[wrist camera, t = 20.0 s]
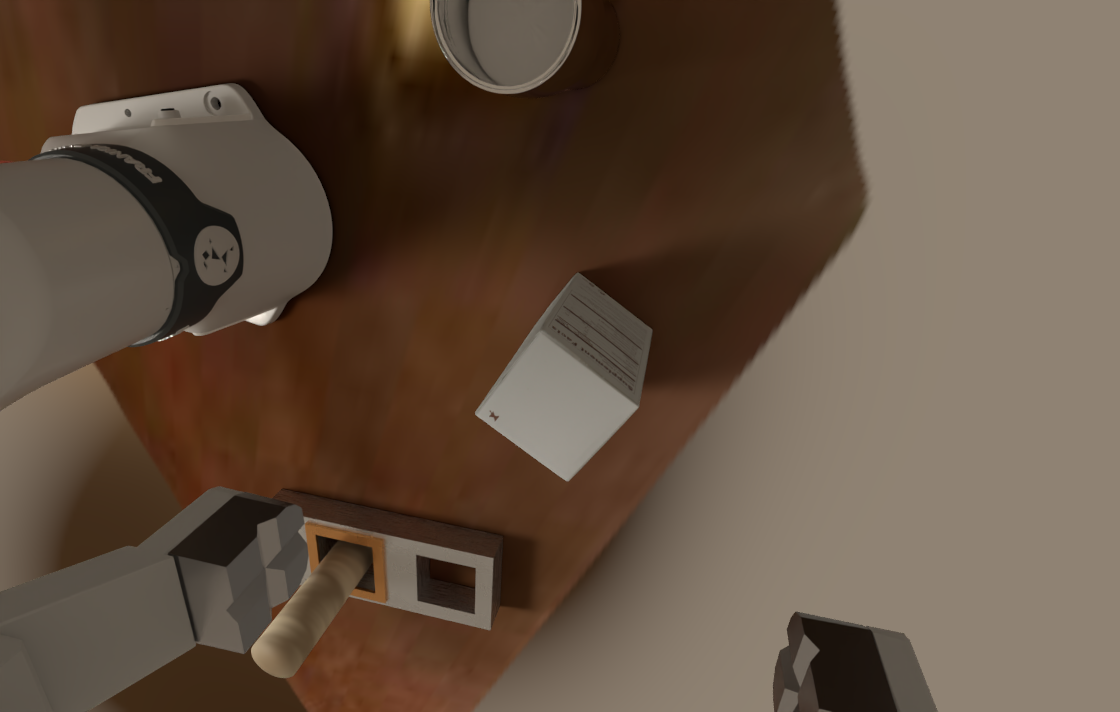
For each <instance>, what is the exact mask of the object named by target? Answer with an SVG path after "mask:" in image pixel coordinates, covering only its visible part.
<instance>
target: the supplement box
mask: <svg viewBox="0 0 1120 712" xmlns="http://www.w3.org/2000/svg"><path fill="white" fill-rule="evenodd" d="M652 331H653V330H652V329H651V328H650V327H648V326H647V325H646V324H644V323H643V322H642V321H641V320H639V319H638V318H637V317H635V316H634V315H633V314H632V313H630V312H629V311H628V310H626V309H625V308H624V307H623V306H621V305H620V304H619V303H617V302H616V301H615V300H614V299H612V298H611V297H610V296H608V295H607V294H606V293H605V292H603V291H602V290H601V289H599V288H598V287H597V286H596V285H594V284H593V283H592V282H590V281H589V280H588V279H586V278H585V277H584V276H582V275H581V274H580V273H576V274H575V275H574V276H573V278H572V279H571V280H570V281H569V283H568V284H567V285H566V286H565V287H564V289H563V290H562V291H561V292H560V293H559V295H558V296H557V297H556V298H555V300H554V301H553V302H552V303H551V305H550V306H549V307H548V308H547V310H546V311H545V313H544V314H543V315H542V317H541V318H540V319H539V321H538V322H537V323H536V325H535V326H534V328H533V329H532V330H531V332H530V333H529V335H528V336H527V337H526V339H525V341H524V342H523V344H522V345H521V347H520V348H519V350H518V351H517V352H516V354H515V355H514V357H513V358H512V360H511V361H510V363H509V364H508V366H507V367H506V369H505V370H504V371H503V373H502V374H501V376H500V377H499V379H498V380H497V382H496V383H495V384H494V386H493V387H492V389H491V390H490V392H489V393H488V395H487V396H486V397H485V399H484V400H483V402H482V403H481V405H480V406H479V408H478V409H477V411H476V412H475V414H476V416H478V417H479V418H481V419H482V420H484V421H485V422H486V423H487V424H489V425H490V426H491V427H493V428H494V429H496V430H497V431H498V432H500V433H501V434H502V435H504V436H505V437H506V438H508V439H509V440H511V441H512V442H513V443H515V444H516V445H517V446H519V447H520V448H521V449H523V450H524V451H526V452H527V453H528V454H530V455H531V456H532V457H534V458H535V459H536V460H538V461H539V462H541V463H542V464H543V465H545V466H546V467H547V468H549V469H550V470H552V471H553V472H554V473H556V474H557V475H558V476H560V477H561V478H563V479H564V480H566V481H569V480H570V479H571V478H572V477H573V476H574V475H575V474H576V473H577V472H578V471H579V470H580V469H581V468H582V467H583V466H584V465H585V464H586V463H587V462H588V461H589V460H590V459H591V458H592V457H593V456H594V455H595V453H596V452H597V451H598V450H599V449H600V448H601V447H602V446H603V445H604V444H605V443H606V442H607V441H608V440H609V439H610V438H611V437H612V436H613V435H614V434H615V432H616V431H617V430H618V429H619V428H620V427H621V426H622V425H623V424H624V423H625V422H626V421H627V420H628V419H629V417H630V416H631V415H632V414H633V413H634V412H635V411H636V410H637V409H638V408H639V403H640V397H641V392H642V386H643V381H644V376H645V371H646V366H647V360H648V354H649V349H650V343H651V337H652Z"/></svg>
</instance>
